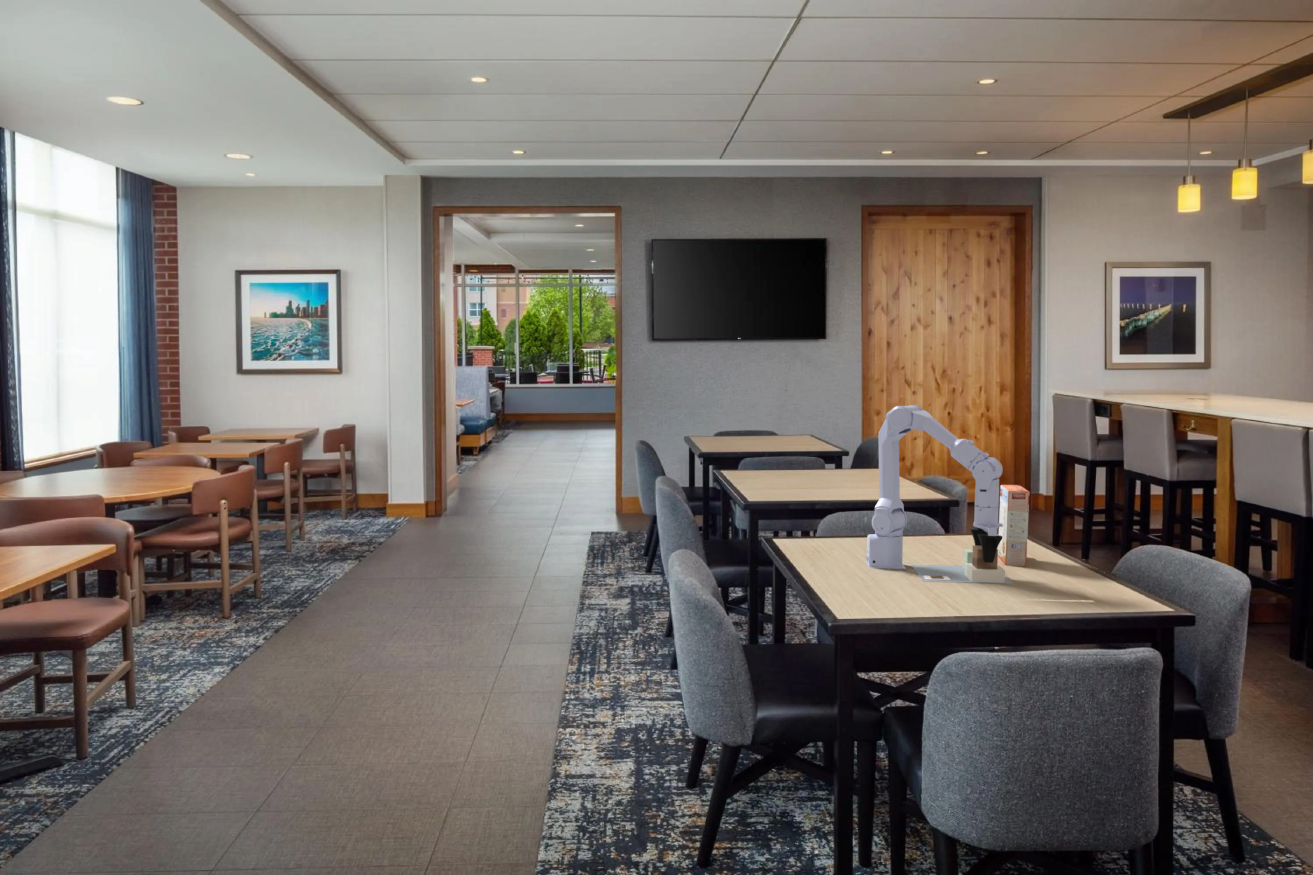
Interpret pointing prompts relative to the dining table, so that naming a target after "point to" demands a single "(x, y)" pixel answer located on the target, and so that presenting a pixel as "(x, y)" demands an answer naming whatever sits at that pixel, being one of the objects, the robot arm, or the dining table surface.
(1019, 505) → the cracker box
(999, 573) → the cream base block
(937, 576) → the board
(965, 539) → the dining table surface
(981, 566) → the walnut block
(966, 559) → the sage block
